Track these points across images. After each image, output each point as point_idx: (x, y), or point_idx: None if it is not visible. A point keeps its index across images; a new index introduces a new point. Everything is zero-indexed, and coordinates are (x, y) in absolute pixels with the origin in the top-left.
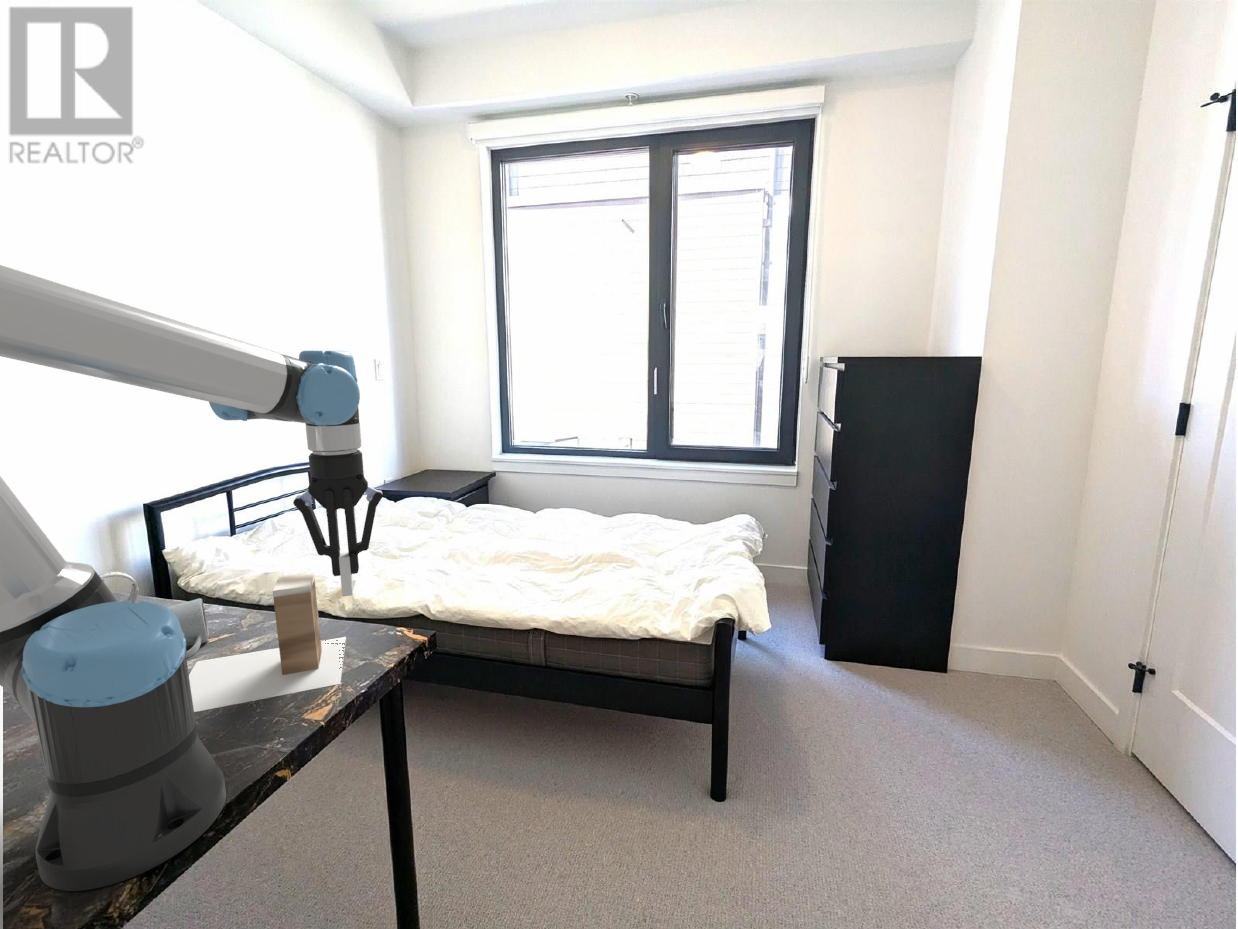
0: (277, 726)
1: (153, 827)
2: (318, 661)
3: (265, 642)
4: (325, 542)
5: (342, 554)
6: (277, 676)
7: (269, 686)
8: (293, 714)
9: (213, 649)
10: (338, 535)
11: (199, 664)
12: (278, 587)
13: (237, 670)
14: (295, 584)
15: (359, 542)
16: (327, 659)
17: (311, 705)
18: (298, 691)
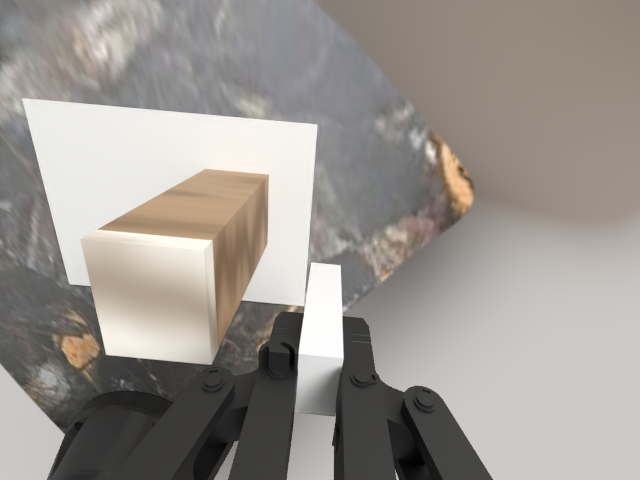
0: (229, 356)
1: None
2: (265, 238)
3: (137, 47)
4: (218, 415)
5: (308, 376)
6: None
7: None
8: (244, 340)
9: (25, 28)
10: (285, 468)
11: (34, 117)
12: (115, 336)
13: (123, 182)
14: (162, 334)
15: (395, 427)
16: (281, 217)
17: (265, 331)
18: (243, 299)
